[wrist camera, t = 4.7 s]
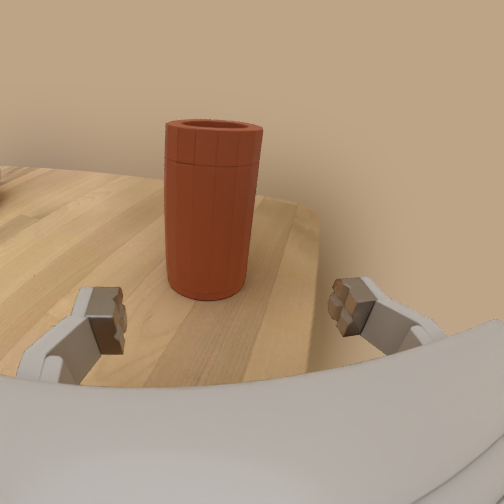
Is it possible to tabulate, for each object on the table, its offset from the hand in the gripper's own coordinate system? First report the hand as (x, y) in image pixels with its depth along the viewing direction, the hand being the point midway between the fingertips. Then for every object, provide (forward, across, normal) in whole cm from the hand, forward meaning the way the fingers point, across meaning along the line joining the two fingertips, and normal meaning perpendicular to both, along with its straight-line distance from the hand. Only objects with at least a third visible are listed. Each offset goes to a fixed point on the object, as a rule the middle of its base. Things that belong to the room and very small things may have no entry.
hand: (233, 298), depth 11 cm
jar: (+10, 0, +6) cm, 12 cm away
